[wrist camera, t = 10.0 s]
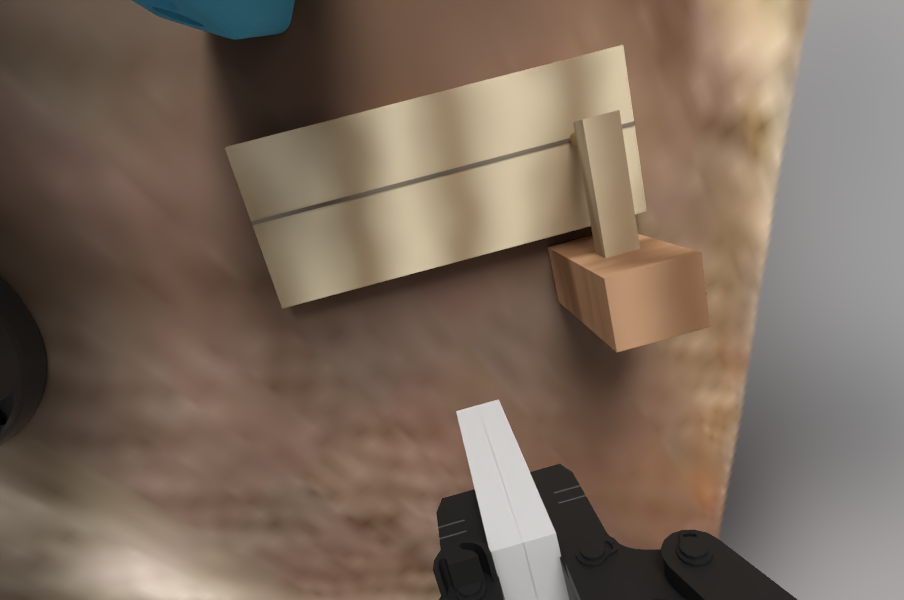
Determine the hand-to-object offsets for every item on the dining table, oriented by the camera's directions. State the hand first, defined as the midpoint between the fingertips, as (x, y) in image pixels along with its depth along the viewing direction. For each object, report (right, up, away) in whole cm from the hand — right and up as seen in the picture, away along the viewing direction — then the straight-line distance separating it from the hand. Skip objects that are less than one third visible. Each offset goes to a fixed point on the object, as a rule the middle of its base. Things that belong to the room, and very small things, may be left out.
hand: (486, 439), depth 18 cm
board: (-2, +13, +15) cm, 20 cm away
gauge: (+7, +10, +17) cm, 21 cm away
